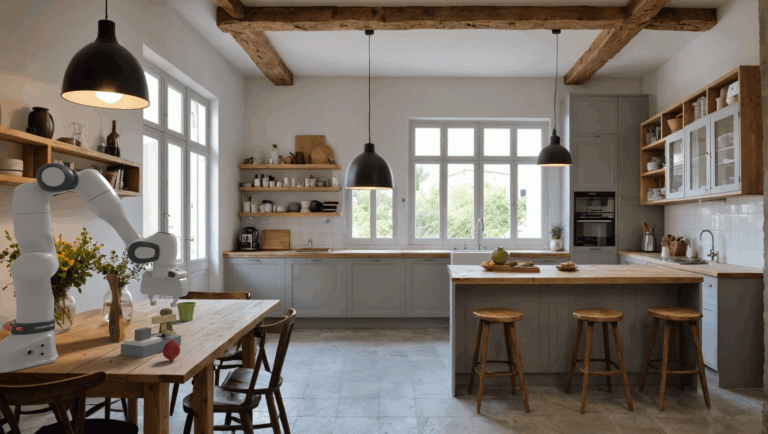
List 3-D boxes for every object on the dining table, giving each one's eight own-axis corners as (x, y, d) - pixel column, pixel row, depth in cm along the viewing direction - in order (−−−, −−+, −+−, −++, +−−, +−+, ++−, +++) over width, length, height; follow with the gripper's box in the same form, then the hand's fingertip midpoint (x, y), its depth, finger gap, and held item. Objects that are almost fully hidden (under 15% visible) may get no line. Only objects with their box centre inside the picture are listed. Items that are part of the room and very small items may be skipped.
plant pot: (183, 323, 237) (183, 305, 237) (172, 320, 242) (172, 303, 242) (199, 319, 244) (200, 303, 245) (188, 317, 250) (188, 301, 250)
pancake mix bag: (107, 344, 195) (108, 275, 195) (105, 334, 211) (106, 271, 211) (126, 342, 198) (127, 274, 199) (122, 333, 215) (123, 270, 215)
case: (143, 357, 177) (143, 346, 177) (120, 354, 180) (120, 343, 180) (180, 345, 194) (181, 334, 195) (159, 342, 198) (159, 332, 198)
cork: (167, 334, 212) (167, 309, 212) (155, 333, 214) (155, 309, 214) (176, 331, 218) (176, 307, 218) (164, 331, 219) (164, 307, 220)
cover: (142, 346, 177) (142, 332, 177) (123, 344, 180) (124, 330, 180) (161, 340, 186) (161, 327, 186) (143, 338, 189) (143, 325, 189)
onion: (162, 363, 169) (162, 341, 170) (162, 359, 175) (163, 337, 175) (180, 362, 172) (180, 339, 172) (180, 357, 177) (180, 336, 177)
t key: (183, 335, 192) (184, 316, 193) (162, 339, 185) (162, 320, 185) (172, 332, 197) (173, 313, 197) (151, 336, 190) (151, 317, 190)
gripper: (137, 271, 193) (135, 305, 192) (180, 274, 188) (179, 309, 187) (148, 269, 199) (147, 303, 199) (191, 272, 194) (189, 306, 194)
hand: (163, 306), depth 193 cm, fingers open, 8 cm apart
